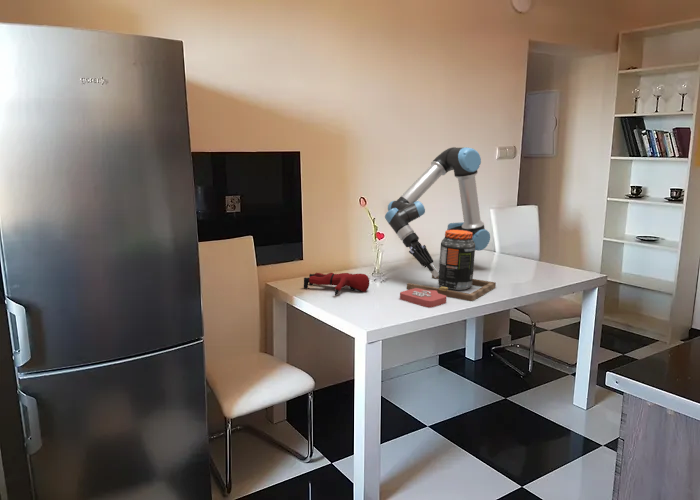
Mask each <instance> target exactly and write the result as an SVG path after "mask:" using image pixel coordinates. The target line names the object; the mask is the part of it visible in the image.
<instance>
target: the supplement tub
mask: <svg viewBox="0 0 700 500" xmlns="http://www.w3.org/2000/svg"><path fill="white" fill-rule="evenodd" d="M472 237H473V233H472V232H470V231H464V230H445V233H444V237H443V239H441V242H440V251H439V253H440V254H439V265H438V267H439V268H438V272H439V277H438V279H437V283H438V285H439V287H442V286H443V287H448V290H455V291H456V290H457V291H459V290H466V289H469V288H471V287H472V286H473V285H472V280H473V279H474V268H475V267H474V266H475V255H476V253H475V252H476V250H475V243H474V241H473V238H472Z"/></svg>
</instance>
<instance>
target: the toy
mask: <svg viewBox="0 0 700 500" xmlns="http://www.w3.org/2000/svg"><path fill="white" fill-rule="evenodd" d="M312 284H313V285H318V286H335V287H334V296H338V294H339V292H340V291H341V290H342V288H346V287H349V289H350V290H351V291H355V292H363V293H365V292H367V291H368V289H369V287H370V278H369V276H368V275H366V273H349V272H342V273H341V272H339V273H335V272H329V273H326V274H324V273H321V272H315V273H309V277H303V289H304V290H305V289H306V290H307V289H308V288H309V286H312Z"/></svg>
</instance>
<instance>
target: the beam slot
mask: <svg viewBox="0 0 700 500" xmlns="http://www.w3.org/2000/svg"><path fill="white" fill-rule="evenodd" d="M438 277H439V276H438ZM438 277H436V278H435V277H434V276H433V275H432V274H431V279H435V280H438ZM496 284H497V283H496V282H495V281H489V280H483V279H482V280H481V279H478V278H477V279H475V278H473V280H472V286H475V287H480V288H478V289H476V290H473V292H470V293H467V292H461V291H458V290H457V291H456V290H453V289H449V288H448V287H443V286H439V287H435V286H428V285H423V284H417V283H412V282H408V283H406V290H410V289H414V288H420V289H424V290H436V291H437V292H438V293H439V294H442V295H446V296H447V297H446V298H453V299H459V300H464V301H469V302H473V301H475V300H477V299H478V298H480V297H482V296H484V295H485V294H487V293H489V292H490V291H492V290H495V288H496V287H497V285H496Z"/></svg>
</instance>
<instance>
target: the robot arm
mask: <svg viewBox="0 0 700 500" xmlns="http://www.w3.org/2000/svg"><path fill="white" fill-rule="evenodd" d="M481 163H482V157H481V155H480V153H479V152H478V150H476V149H474V148H471V147H455V146H453V147H449V148H447V149H445V150H443V151H442V152H441V153H440V154H438V155H437V156H436V157H435V158H434V159H433V160H432V161H431V163H430V166H429V167H428V168H427V169H426V170H425V171H424V172H423V173H422V174H421V175H420V176H419V177H418V178H417V179H416V180H415V181H414V182H413V184H411V186H409V187H408V188H407V189H406V191H405V192H404V193H403V194H402V195H400V197H399V198H398V199H396V200H392V201H390V202H389V203H388V205H387V211H386V212H385V215H384V218H385V221H386V222H387V223H388V225H389V226H390V227H391V229H393V231H394V232H395V234H396V236H398V238H399V239H400V240H401V241H402V244H403V245H404V246H405V248H409V251H408V253H409V254H411V255H412V257H414V258H415V260H417V261H418V262H419V264H420V265H421V266H422V267H424V269H425V268H427V269H428V271H429V272H430V273H431V276H432V275H433V276H434V277H435V278H436V277H438V276H439V269H437V268H436V267H435V265H434V261H435V260H434V259H433V258H432V256H431V254H430V253H429V250H428V249H427V246H426V245H425V244H423V245H422V243H421V242H420V241H419V239H420V237H419V236H418V235H417V233H416V232H415V230H414V229H413V228H412V227H411V225H410V223H411V222H413V221H415V220H416V219H419V218H421V217H422V216H423V215H425V213H426V208H425V206H424V204H423V203H422V202H421V201H419V199H420V198H421V197H422V196H423V195H424V194H425V193H426V192H427V191H428V190H429V189H430V188H431V187H432V186H433V185H434V184H435V183H436V182H437V181H438V179H439V178H441V177H442V176H445V175H446V174H447V173H448V172H450V171H453V173H454V174H453V175H454V177H455V178H456V179H457V181H458V182H457V183H458V188H459V195H460V202H461V203H460V204H461V210H462V217H463V221H462V222H451V223H447V230H464V231H470V232H472V233H473V237H472V238H473V241H474V243H475V251H483V250H484V249H486V248H487V247H488V245H489V244H490V241H491V233H490V231H488V229H485V228H486V227H485V223H484V221H482V220H481V215H480V206H479V204H480V203H479V197H478V191H477V181H476V176H477V174H478V170H479V169H480V166H481Z"/></svg>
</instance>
